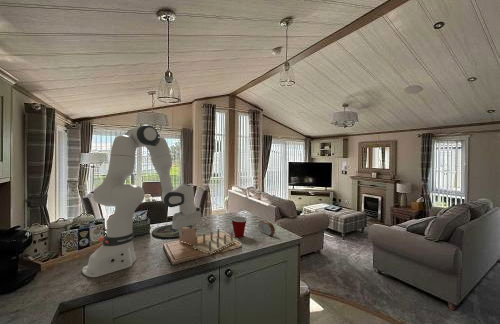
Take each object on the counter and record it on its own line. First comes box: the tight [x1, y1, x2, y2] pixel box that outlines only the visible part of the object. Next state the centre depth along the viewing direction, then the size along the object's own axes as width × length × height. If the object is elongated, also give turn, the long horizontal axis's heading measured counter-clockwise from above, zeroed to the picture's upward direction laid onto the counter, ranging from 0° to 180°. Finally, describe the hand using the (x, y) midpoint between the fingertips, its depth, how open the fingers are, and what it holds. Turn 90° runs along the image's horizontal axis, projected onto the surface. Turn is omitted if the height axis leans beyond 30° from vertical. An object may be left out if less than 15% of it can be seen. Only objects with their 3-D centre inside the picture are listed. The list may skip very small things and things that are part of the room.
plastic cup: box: [230, 215, 248, 238], centre depth 150 cm, size 11×11×12 cm
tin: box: [258, 219, 276, 236], centre depth 155 cm, size 15×3×8 cm, turn 34°
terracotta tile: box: [179, 227, 197, 246], centre depth 139 cm, size 2×12×9 cm, turn 54°
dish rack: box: [192, 228, 236, 255], centre depth 134 cm, size 20×15×6 cm
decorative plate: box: [151, 223, 197, 240], centre depth 161 cm, size 30×2×30 cm
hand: (187, 232), depth 140 cm, fingers open, 8 cm apart
